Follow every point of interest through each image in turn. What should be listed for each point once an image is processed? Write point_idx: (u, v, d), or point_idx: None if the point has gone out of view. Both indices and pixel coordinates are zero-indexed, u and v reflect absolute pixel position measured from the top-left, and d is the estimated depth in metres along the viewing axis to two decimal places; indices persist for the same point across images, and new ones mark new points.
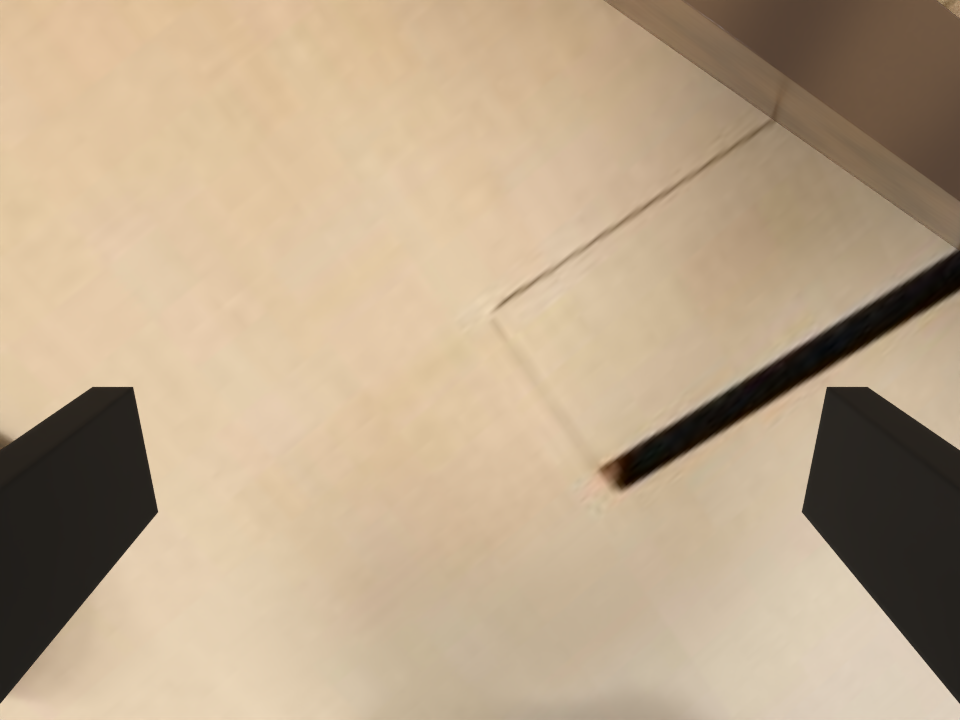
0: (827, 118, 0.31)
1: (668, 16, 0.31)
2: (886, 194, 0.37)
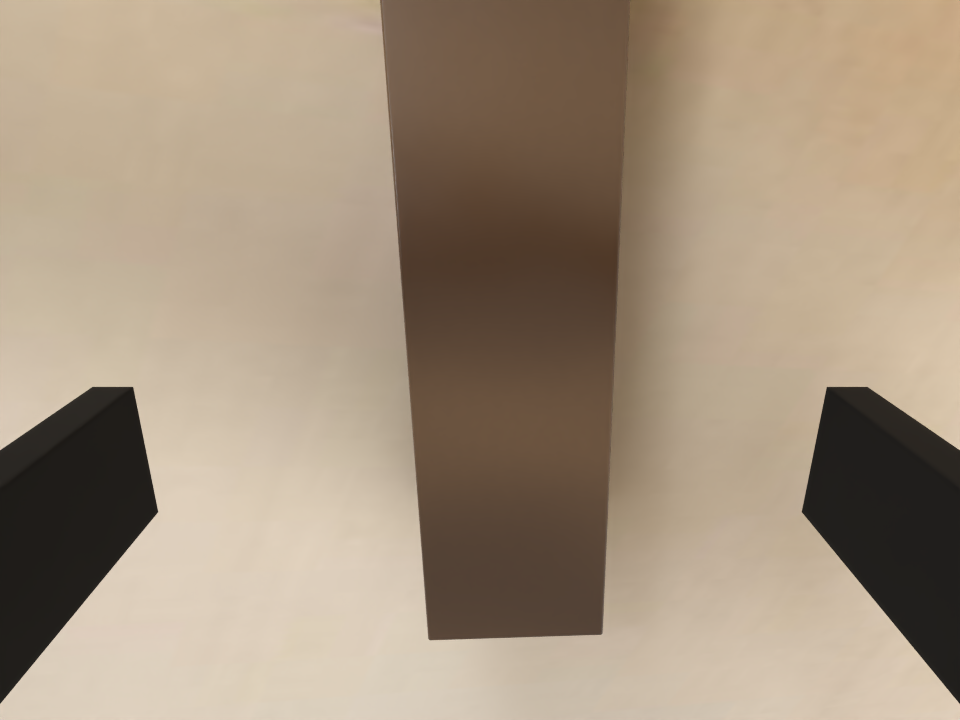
0: None
1: None
2: None
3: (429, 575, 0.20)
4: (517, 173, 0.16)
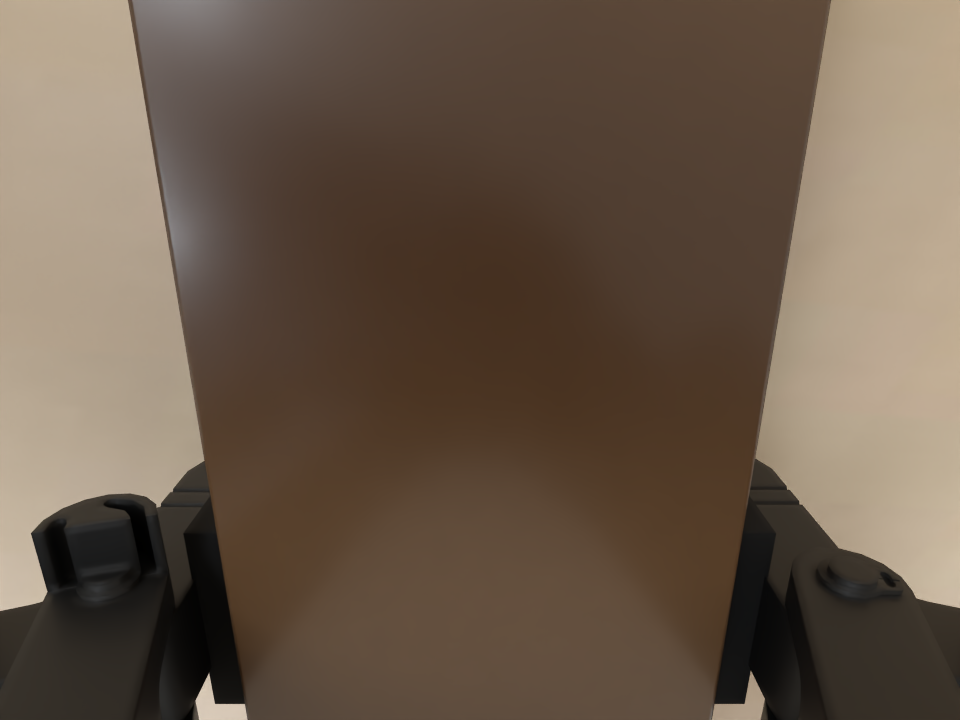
0: None
1: None
2: None
3: None
4: None
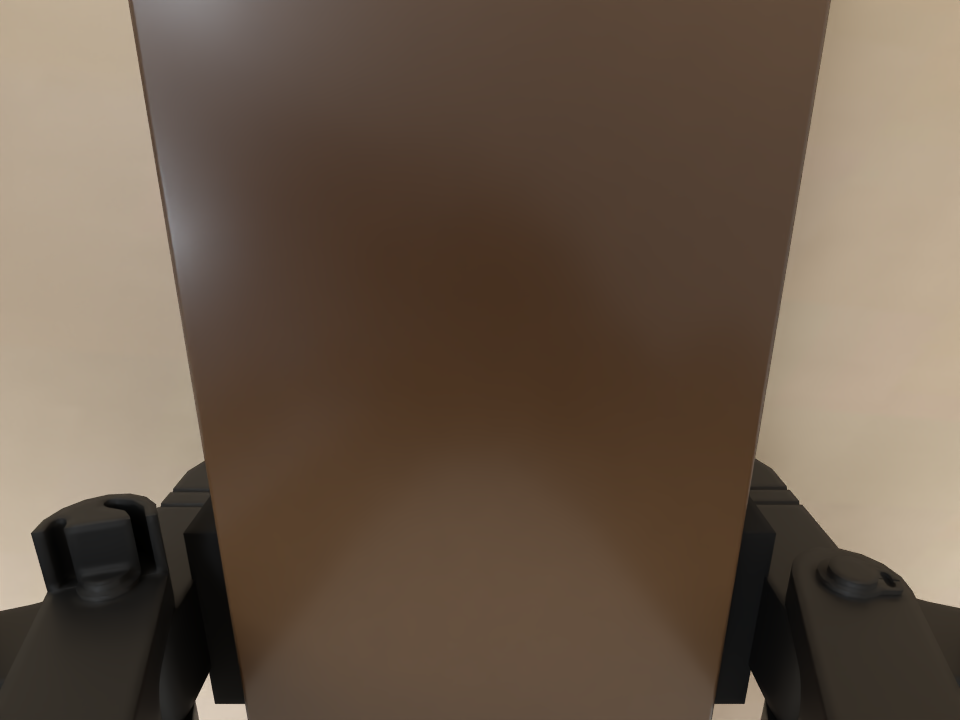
0: None
1: None
2: None
3: None
4: None
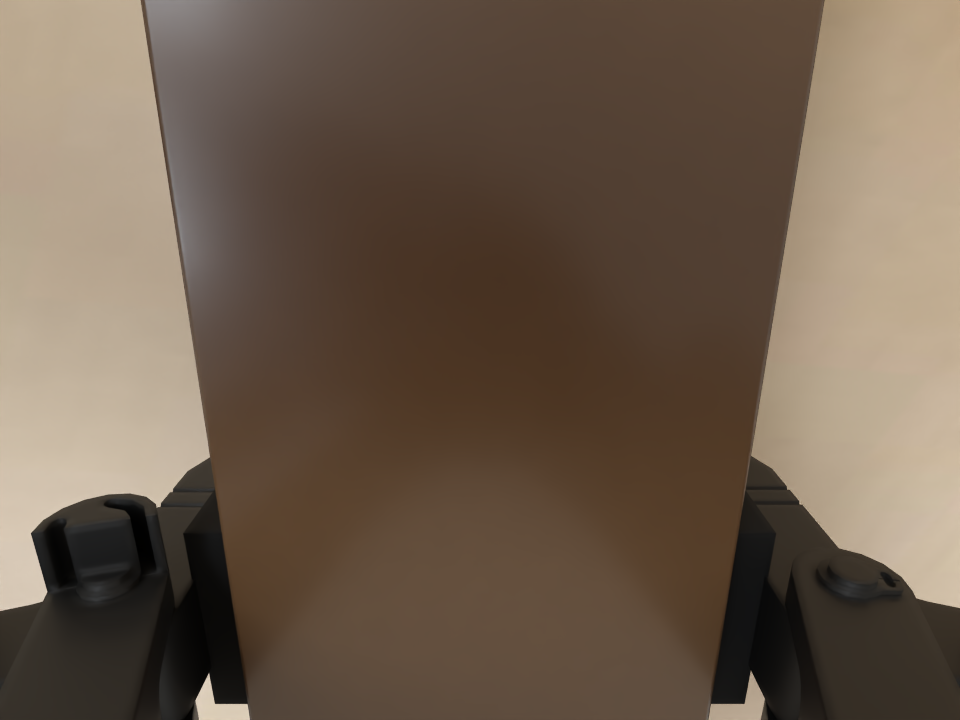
0: None
1: None
2: None
3: None
4: None
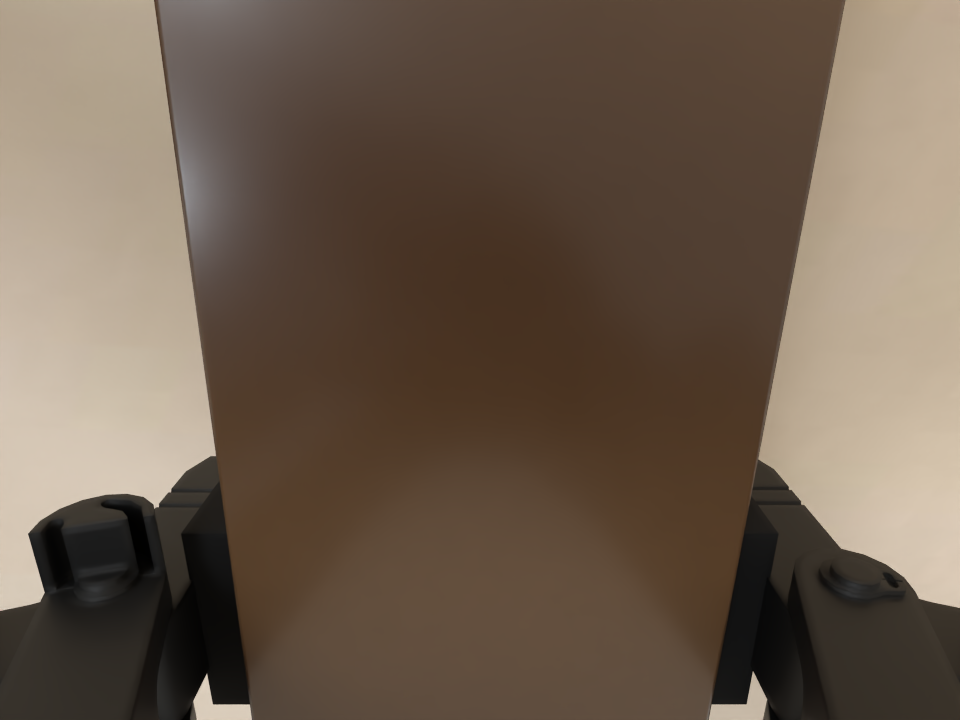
0: None
1: None
2: None
3: None
4: None
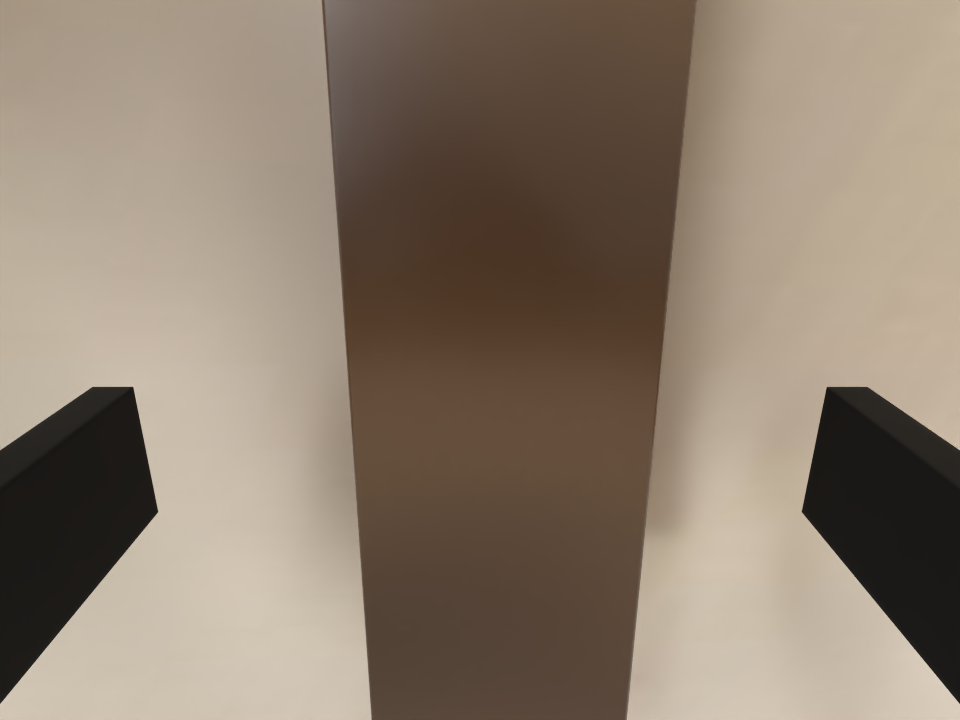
0: None
1: None
2: None
3: (373, 640, 0.14)
4: (522, 5, 0.10)
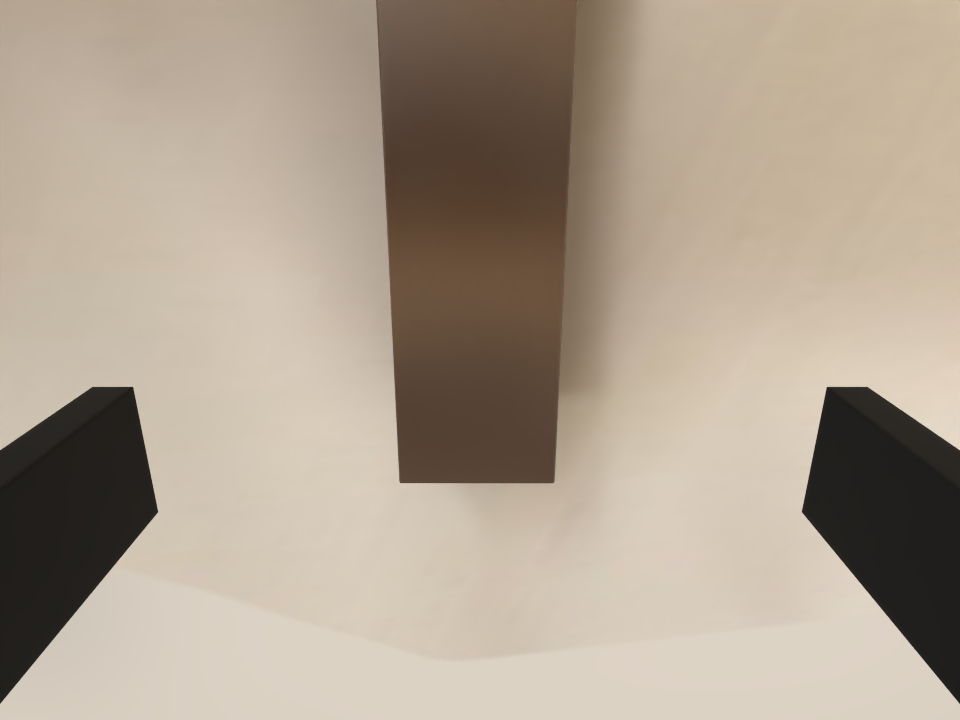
0: None
1: None
2: None
3: (401, 419, 0.22)
4: (484, 42, 0.18)
